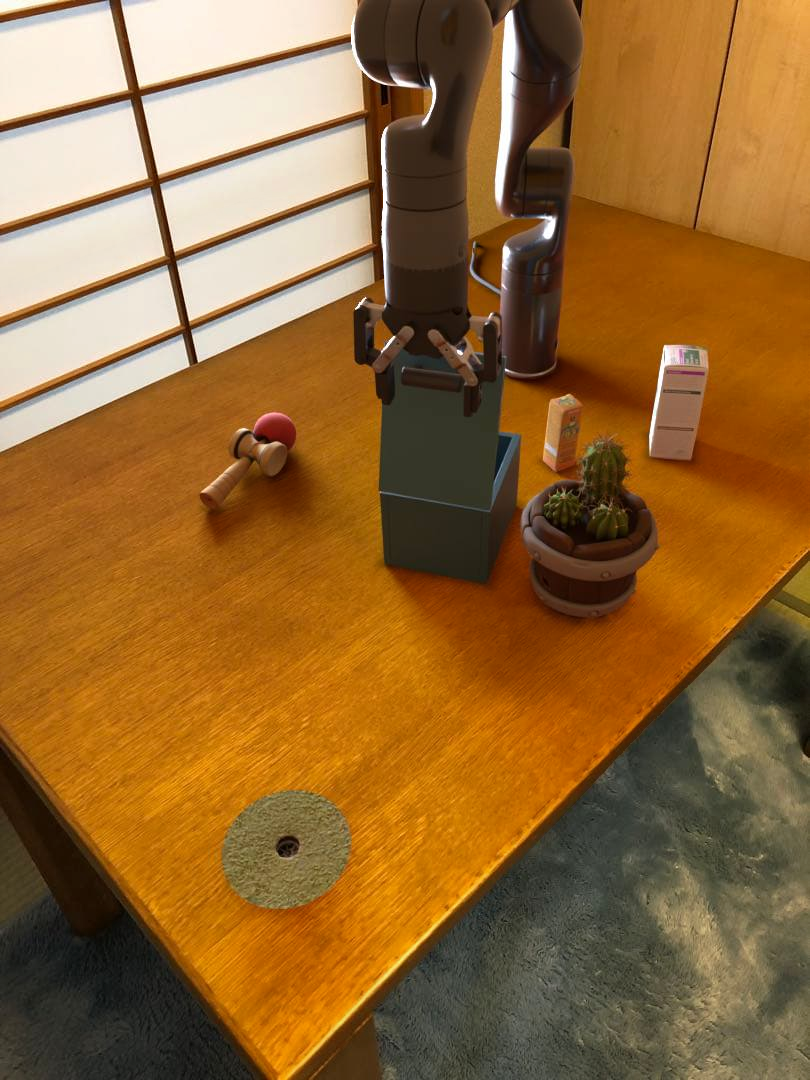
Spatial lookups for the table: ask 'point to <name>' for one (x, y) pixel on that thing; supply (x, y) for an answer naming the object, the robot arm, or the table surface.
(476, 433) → the lid
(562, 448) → the supplement box
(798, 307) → the table surface
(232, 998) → the table surface
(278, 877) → the mat
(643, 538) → the flowerpot
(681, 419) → the syrup box
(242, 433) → the kendama
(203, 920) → the table surface
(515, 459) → the bin
